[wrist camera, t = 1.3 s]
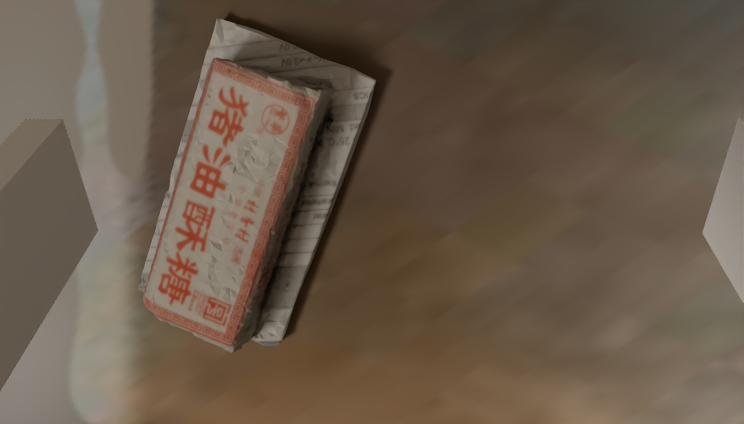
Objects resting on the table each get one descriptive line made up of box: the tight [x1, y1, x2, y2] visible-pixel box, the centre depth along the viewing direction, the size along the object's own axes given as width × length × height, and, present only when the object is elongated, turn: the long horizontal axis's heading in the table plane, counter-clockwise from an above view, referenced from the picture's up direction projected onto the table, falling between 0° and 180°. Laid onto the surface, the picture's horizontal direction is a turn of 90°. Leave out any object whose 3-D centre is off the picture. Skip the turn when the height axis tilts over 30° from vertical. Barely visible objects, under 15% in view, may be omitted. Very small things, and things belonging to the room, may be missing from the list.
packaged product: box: [138, 18, 376, 353], centre depth 40 cm, size 18×5×10 cm
